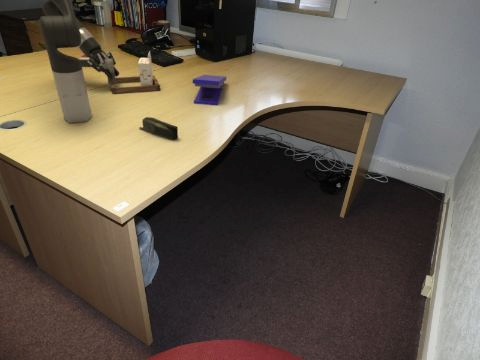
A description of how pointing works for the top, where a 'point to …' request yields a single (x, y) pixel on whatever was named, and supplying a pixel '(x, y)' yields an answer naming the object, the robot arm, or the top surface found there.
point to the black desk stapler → (160, 128)
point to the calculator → (85, 61)
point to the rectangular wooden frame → (128, 79)
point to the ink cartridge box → (145, 71)
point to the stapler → (209, 89)
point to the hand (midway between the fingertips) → (115, 76)
